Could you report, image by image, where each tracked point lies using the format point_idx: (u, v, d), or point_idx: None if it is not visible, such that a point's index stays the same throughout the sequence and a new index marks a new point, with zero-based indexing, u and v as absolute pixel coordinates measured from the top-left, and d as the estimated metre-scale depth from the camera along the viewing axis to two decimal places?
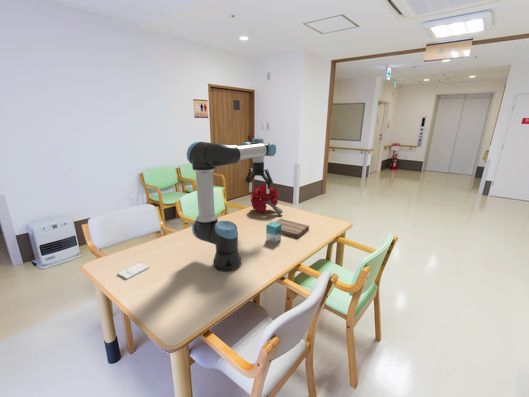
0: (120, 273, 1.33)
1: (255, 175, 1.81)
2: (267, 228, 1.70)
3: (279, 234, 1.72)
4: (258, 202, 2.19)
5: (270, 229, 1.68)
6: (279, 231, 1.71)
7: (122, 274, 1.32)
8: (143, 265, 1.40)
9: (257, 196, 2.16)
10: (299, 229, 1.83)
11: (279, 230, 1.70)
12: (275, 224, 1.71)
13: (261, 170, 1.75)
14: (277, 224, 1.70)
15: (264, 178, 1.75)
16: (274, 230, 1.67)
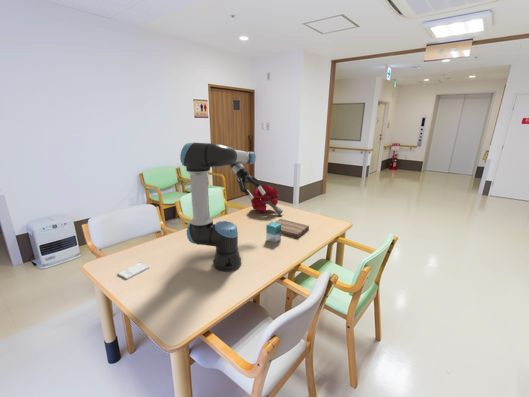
0: (120, 273, 1.33)
1: None
2: (267, 228, 1.70)
3: (279, 234, 1.72)
4: (258, 202, 2.19)
5: (270, 229, 1.68)
6: (279, 231, 1.71)
7: (122, 274, 1.32)
8: (143, 265, 1.40)
9: (257, 196, 2.16)
10: (299, 229, 1.83)
11: (279, 230, 1.70)
12: (275, 224, 1.71)
13: (248, 175, 1.76)
14: (277, 224, 1.70)
15: (255, 181, 1.77)
16: (274, 230, 1.67)
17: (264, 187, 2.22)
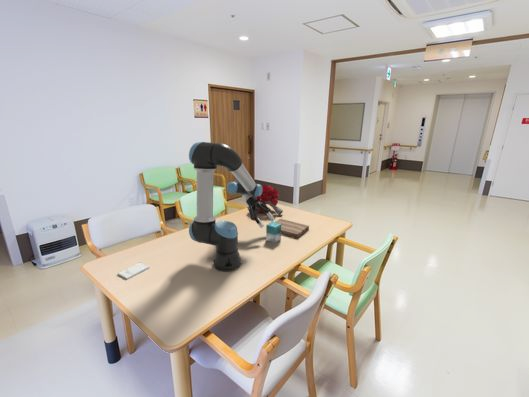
0: (120, 273, 1.33)
1: None
2: (267, 228, 1.70)
3: (279, 234, 1.72)
4: None
5: (270, 229, 1.68)
6: (279, 231, 1.71)
7: (122, 274, 1.32)
8: (143, 265, 1.40)
9: (257, 196, 2.16)
10: (299, 229, 1.83)
11: (279, 230, 1.70)
12: (275, 224, 1.71)
13: (258, 202, 1.79)
14: (277, 224, 1.70)
15: (264, 208, 1.80)
16: (274, 230, 1.67)
17: (264, 187, 2.22)
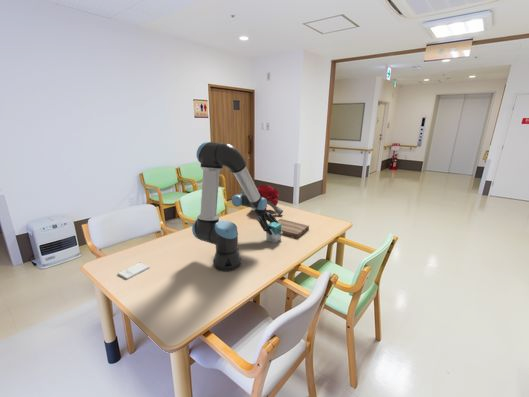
0: (120, 273, 1.33)
1: None
2: None
3: (279, 234, 1.72)
4: None
5: None
6: (279, 231, 1.71)
7: (122, 274, 1.32)
8: (143, 265, 1.40)
9: None
10: (299, 229, 1.83)
11: (279, 230, 1.70)
12: (275, 224, 1.71)
13: (266, 212, 1.75)
14: (277, 224, 1.70)
15: (272, 219, 1.74)
16: (274, 230, 1.67)
17: (264, 187, 2.22)
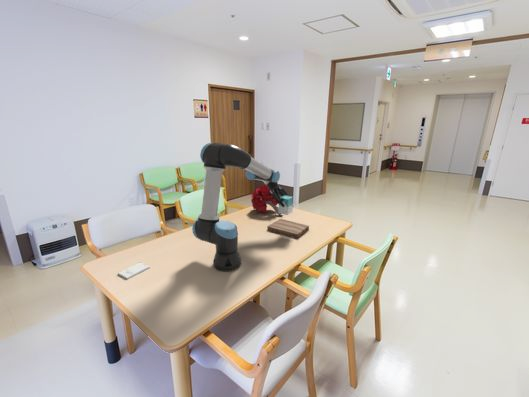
0: (120, 273, 1.33)
1: None
2: None
3: (291, 206, 1.80)
4: (258, 202, 2.19)
5: (282, 201, 1.76)
6: (291, 204, 1.79)
7: (122, 274, 1.32)
8: (143, 265, 1.40)
9: (257, 196, 2.16)
10: (299, 229, 1.83)
11: (291, 202, 1.78)
12: (287, 197, 1.78)
13: (278, 186, 1.83)
14: (289, 197, 1.78)
15: (284, 193, 1.82)
16: (286, 202, 1.75)
17: (264, 187, 2.22)
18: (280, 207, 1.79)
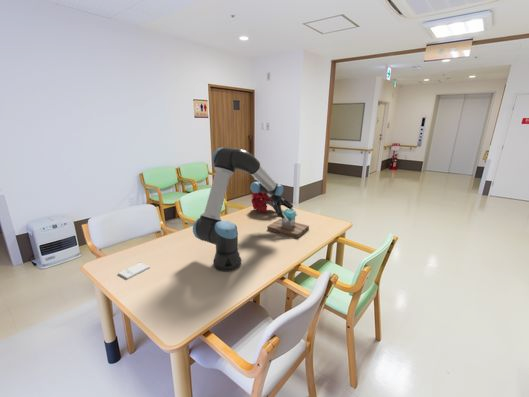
0: (121, 273, 1.33)
1: None
2: None
3: (293, 220, 1.87)
4: (259, 202, 2.19)
5: (285, 215, 1.84)
6: (293, 217, 1.86)
7: (123, 274, 1.32)
8: (144, 265, 1.40)
9: (258, 196, 2.16)
10: (299, 229, 1.83)
11: (293, 217, 1.85)
12: (289, 211, 1.86)
13: (281, 199, 1.90)
14: (292, 211, 1.85)
15: (287, 204, 1.91)
16: (289, 216, 1.82)
17: None
18: (283, 221, 1.86)
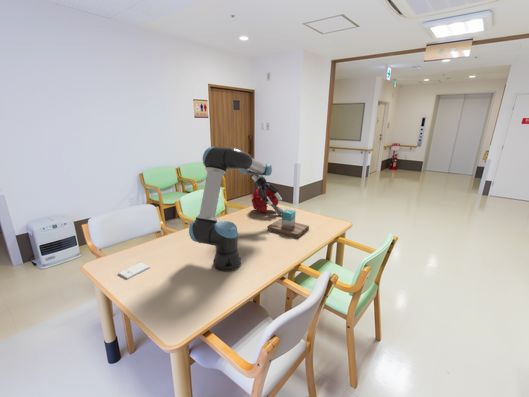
0: (121, 272, 1.33)
1: None
2: (282, 214, 1.85)
3: (293, 220, 1.87)
4: (259, 202, 2.19)
5: (285, 215, 1.84)
6: (293, 217, 1.86)
7: (123, 273, 1.32)
8: (144, 265, 1.40)
9: (258, 196, 2.16)
10: (299, 229, 1.83)
11: (293, 217, 1.85)
12: (289, 211, 1.86)
13: (266, 183, 1.94)
14: (292, 211, 1.85)
15: (272, 188, 1.95)
16: (289, 216, 1.82)
17: None
18: (283, 221, 1.86)
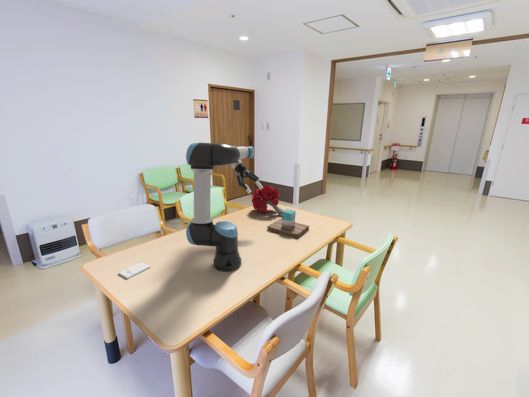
0: (121, 272, 1.33)
1: None
2: (282, 214, 1.85)
3: (293, 220, 1.87)
4: (259, 202, 2.19)
5: (285, 215, 1.84)
6: (293, 217, 1.86)
7: (123, 273, 1.32)
8: (144, 265, 1.40)
9: (258, 196, 2.16)
10: (299, 229, 1.83)
11: (293, 217, 1.85)
12: (289, 211, 1.86)
13: (246, 170, 1.82)
14: (292, 211, 1.85)
15: (252, 176, 1.83)
16: (289, 216, 1.82)
17: (265, 187, 2.22)
18: (283, 221, 1.86)
